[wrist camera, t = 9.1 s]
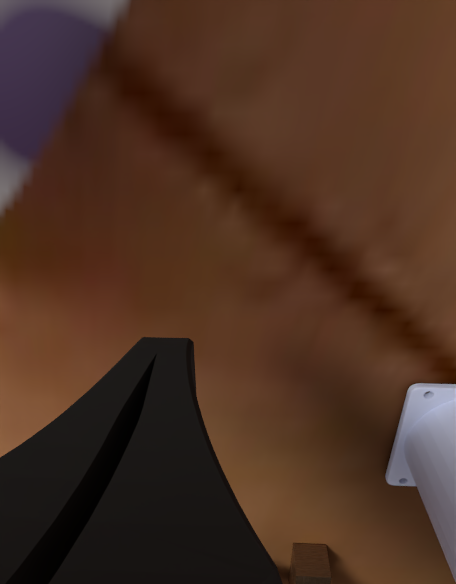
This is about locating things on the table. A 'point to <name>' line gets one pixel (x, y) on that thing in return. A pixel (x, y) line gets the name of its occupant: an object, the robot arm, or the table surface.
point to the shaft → (309, 564)
